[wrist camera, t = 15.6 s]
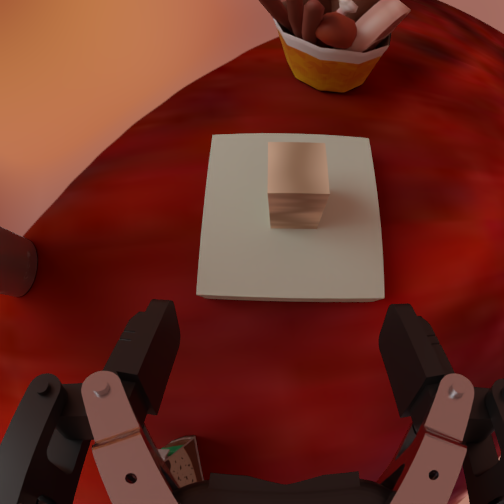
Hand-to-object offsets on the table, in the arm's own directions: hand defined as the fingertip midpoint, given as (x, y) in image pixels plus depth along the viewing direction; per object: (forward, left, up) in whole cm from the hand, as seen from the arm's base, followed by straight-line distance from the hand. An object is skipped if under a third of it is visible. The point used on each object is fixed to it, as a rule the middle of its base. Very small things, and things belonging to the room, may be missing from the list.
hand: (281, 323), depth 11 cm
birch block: (+1, +11, -16) cm, 20 cm away
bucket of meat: (+7, +36, -21) cm, 43 cm away
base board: (+1, +11, -20) cm, 24 cm away
